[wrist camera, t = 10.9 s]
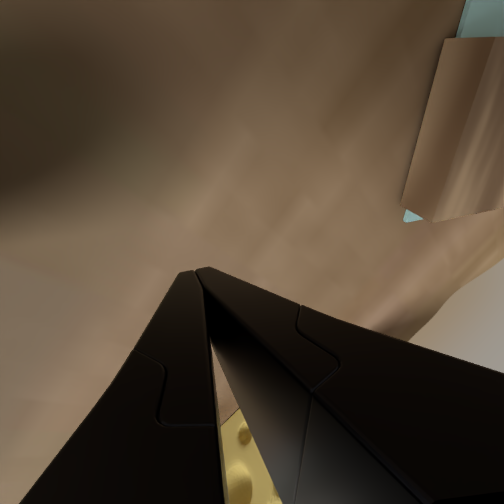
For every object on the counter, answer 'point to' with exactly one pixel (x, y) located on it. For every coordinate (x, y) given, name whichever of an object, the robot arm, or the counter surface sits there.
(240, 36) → the counter surface
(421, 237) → the counter surface
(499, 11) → the mat
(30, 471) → the counter surface
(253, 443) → the cheese
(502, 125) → the walnut block
